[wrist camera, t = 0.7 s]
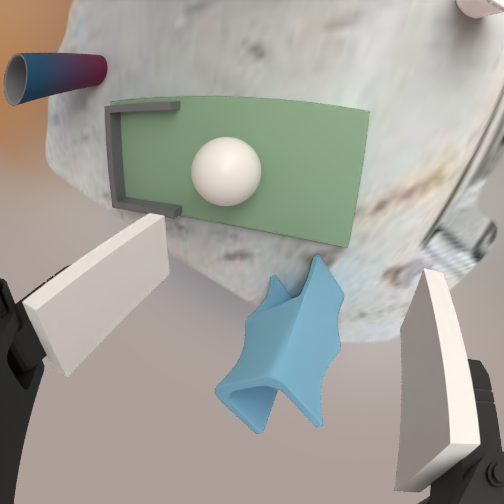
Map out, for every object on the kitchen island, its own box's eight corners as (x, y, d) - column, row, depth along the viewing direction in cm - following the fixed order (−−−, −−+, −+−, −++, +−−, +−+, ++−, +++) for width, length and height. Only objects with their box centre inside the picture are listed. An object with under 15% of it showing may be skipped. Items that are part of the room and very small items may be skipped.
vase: (300, 318, 45) (256, 434, 28) (270, 277, 43) (207, 388, 27) (348, 300, 41) (323, 426, 24) (318, 253, 39) (275, 373, 23)
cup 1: (91, 44, 35) (10, 48, 23) (117, 57, 35) (32, 61, 23) (77, 82, 39) (0, 95, 26) (102, 97, 39) (20, 113, 26)
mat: (369, 111, 29) (369, 111, 28) (348, 243, 37) (347, 247, 36) (116, 100, 38) (110, 101, 37) (122, 201, 46) (117, 204, 45)
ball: (246, 120, 33) (218, 127, 27) (282, 176, 35) (262, 195, 29) (199, 154, 37) (165, 168, 31) (232, 204, 39) (204, 228, 33)
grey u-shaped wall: (180, 100, 34) (170, 101, 33) (182, 212, 42) (173, 218, 40) (115, 104, 37) (104, 106, 36) (121, 202, 45) (112, 207, 43)
